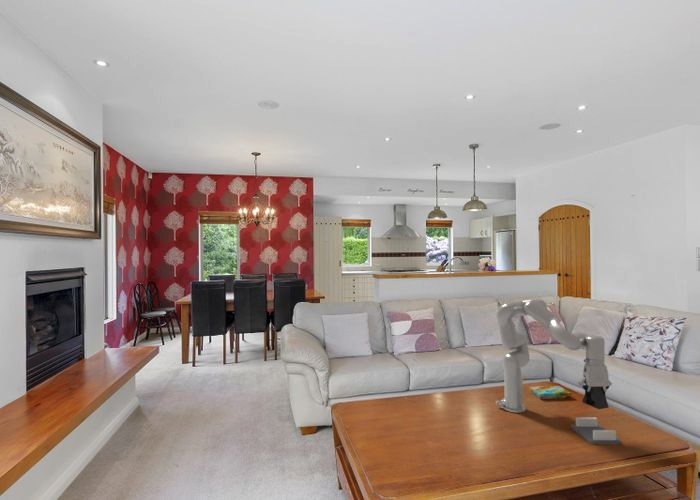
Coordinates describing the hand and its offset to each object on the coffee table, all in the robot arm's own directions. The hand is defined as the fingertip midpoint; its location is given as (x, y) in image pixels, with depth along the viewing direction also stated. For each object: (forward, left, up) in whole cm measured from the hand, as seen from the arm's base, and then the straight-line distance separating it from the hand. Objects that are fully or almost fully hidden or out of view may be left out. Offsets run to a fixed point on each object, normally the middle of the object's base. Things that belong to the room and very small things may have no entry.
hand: (595, 398), depth 181 cm
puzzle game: (+4, +49, -18) cm, 53 cm away
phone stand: (0, 0, -3) cm, 3 cm away
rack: (0, 0, -18) cm, 18 cm away
